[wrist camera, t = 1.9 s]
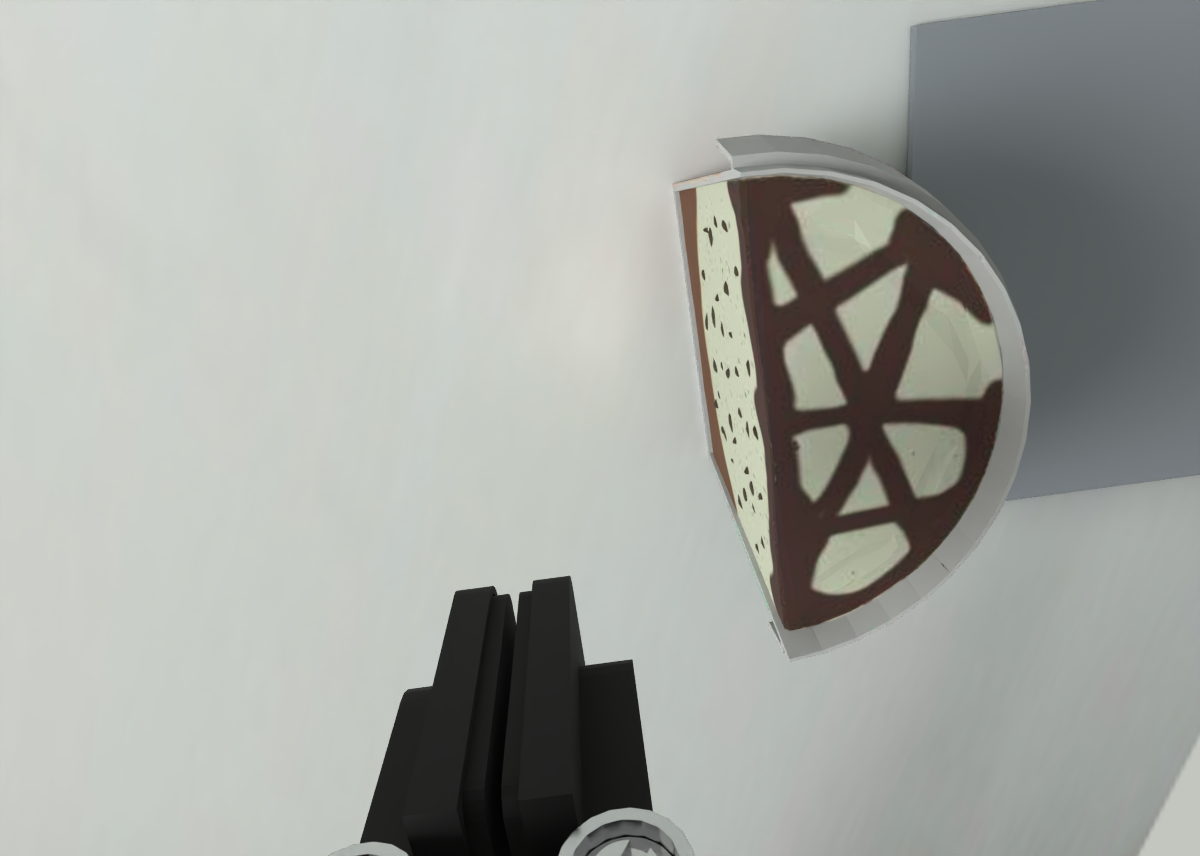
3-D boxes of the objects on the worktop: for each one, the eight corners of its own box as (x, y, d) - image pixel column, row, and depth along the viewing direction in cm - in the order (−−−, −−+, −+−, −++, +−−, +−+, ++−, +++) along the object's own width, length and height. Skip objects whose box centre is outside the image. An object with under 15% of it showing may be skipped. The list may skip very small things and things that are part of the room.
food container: (882, 462, 28) (1045, 635, 18) (713, 492, 28) (791, 680, 18) (868, 95, 23) (1077, 77, 14) (665, 133, 23) (736, 141, 14)
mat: (910, 26, 22) (916, 25, 22) (1319, -29, 22) (1332, -32, 22) (898, 509, 28) (902, 514, 28) (1220, 466, 28) (1229, 471, 28)
